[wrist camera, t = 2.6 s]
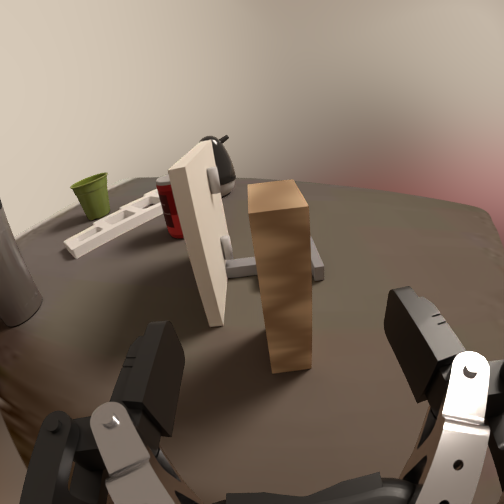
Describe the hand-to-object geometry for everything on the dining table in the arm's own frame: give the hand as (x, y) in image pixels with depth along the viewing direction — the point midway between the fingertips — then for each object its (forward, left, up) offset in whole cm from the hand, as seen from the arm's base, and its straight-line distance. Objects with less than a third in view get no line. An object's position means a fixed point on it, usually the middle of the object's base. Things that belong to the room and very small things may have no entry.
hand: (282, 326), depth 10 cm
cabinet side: (0, +24, -14) cm, 28 cm away
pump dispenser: (-10, +62, -14) cm, 64 cm away
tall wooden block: (+1, +11, -14) cm, 18 cm away
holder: (-31, +59, -15) cm, 68 cm away
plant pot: (-46, +63, -14) cm, 79 cm away
